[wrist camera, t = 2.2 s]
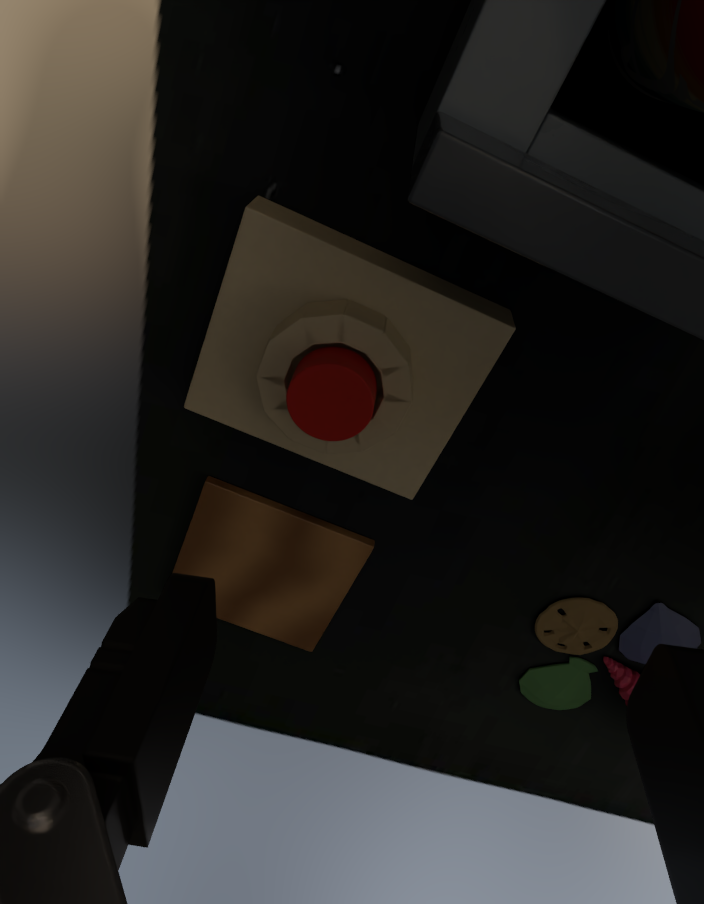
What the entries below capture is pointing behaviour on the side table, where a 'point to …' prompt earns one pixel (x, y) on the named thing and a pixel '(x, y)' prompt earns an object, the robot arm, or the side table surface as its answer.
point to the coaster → (270, 563)
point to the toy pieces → (582, 624)
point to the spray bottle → (660, 48)
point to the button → (332, 394)
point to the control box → (343, 344)
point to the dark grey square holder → (554, 166)
